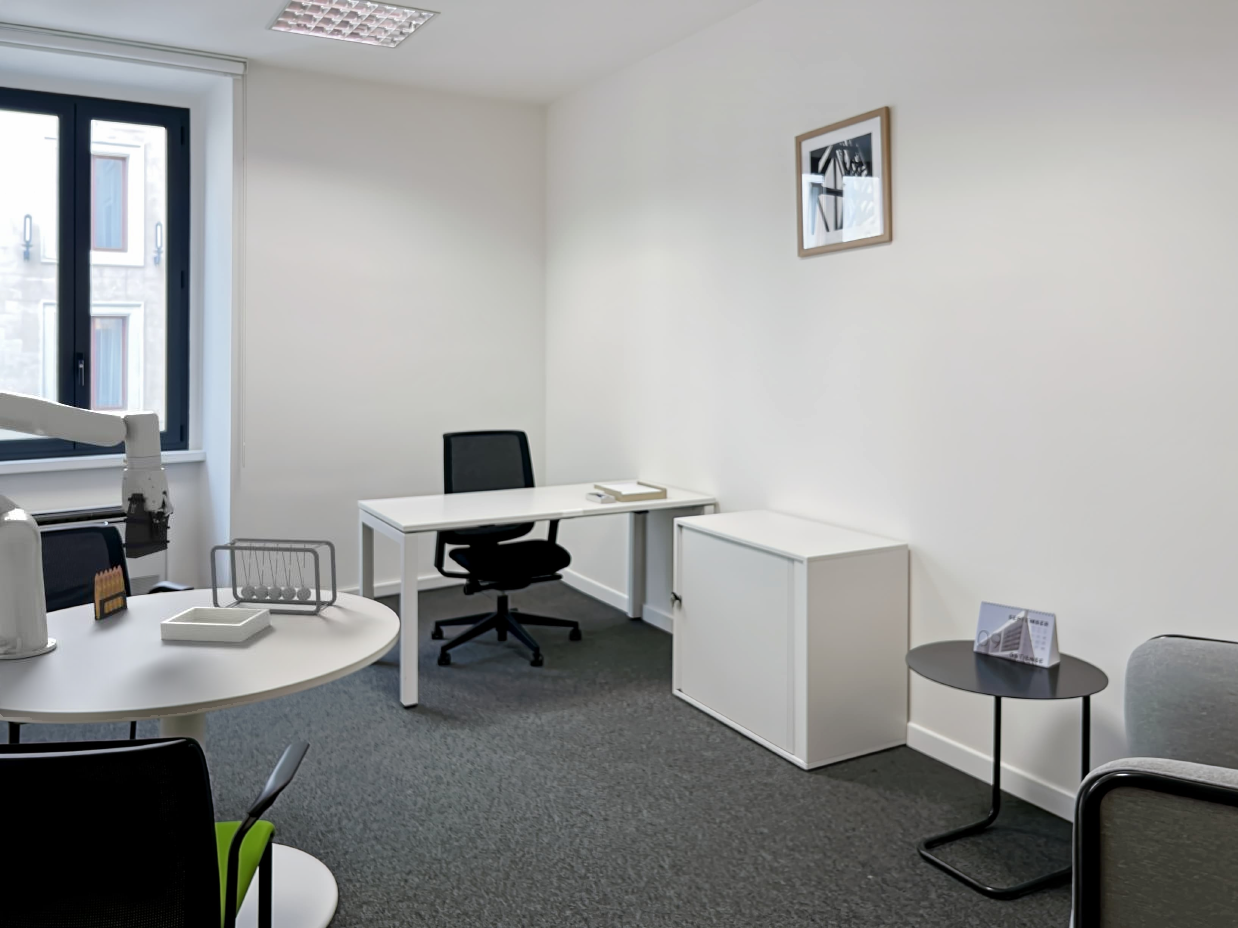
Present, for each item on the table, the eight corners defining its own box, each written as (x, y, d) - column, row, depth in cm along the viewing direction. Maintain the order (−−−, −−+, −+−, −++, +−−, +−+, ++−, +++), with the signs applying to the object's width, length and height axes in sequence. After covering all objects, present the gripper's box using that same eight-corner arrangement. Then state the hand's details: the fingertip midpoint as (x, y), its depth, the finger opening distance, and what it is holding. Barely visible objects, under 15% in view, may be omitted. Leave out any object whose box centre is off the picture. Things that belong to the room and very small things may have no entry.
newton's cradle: (337, 604, 246) (335, 540, 244) (320, 615, 236) (317, 548, 234) (234, 600, 251) (231, 537, 248) (212, 611, 240) (208, 545, 238)
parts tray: (240, 642, 214) (240, 625, 214) (161, 639, 217) (160, 622, 216) (270, 624, 228) (269, 609, 228) (195, 621, 230) (194, 606, 230)
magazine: (112, 554, 212) (129, 492, 217) (151, 566, 224) (166, 507, 229) (126, 554, 211) (142, 493, 216) (164, 566, 224) (179, 508, 228)
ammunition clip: (101, 619, 232) (97, 574, 231) (94, 619, 233) (91, 573, 231) (127, 608, 243) (124, 564, 241) (121, 608, 243) (118, 564, 242)
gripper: (102, 464, 217) (108, 539, 219) (163, 465, 213) (169, 542, 216) (125, 460, 224) (130, 533, 226) (185, 462, 221) (189, 536, 223)
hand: (149, 537), depth 221 cm, fingers closed on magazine, 3 cm apart
